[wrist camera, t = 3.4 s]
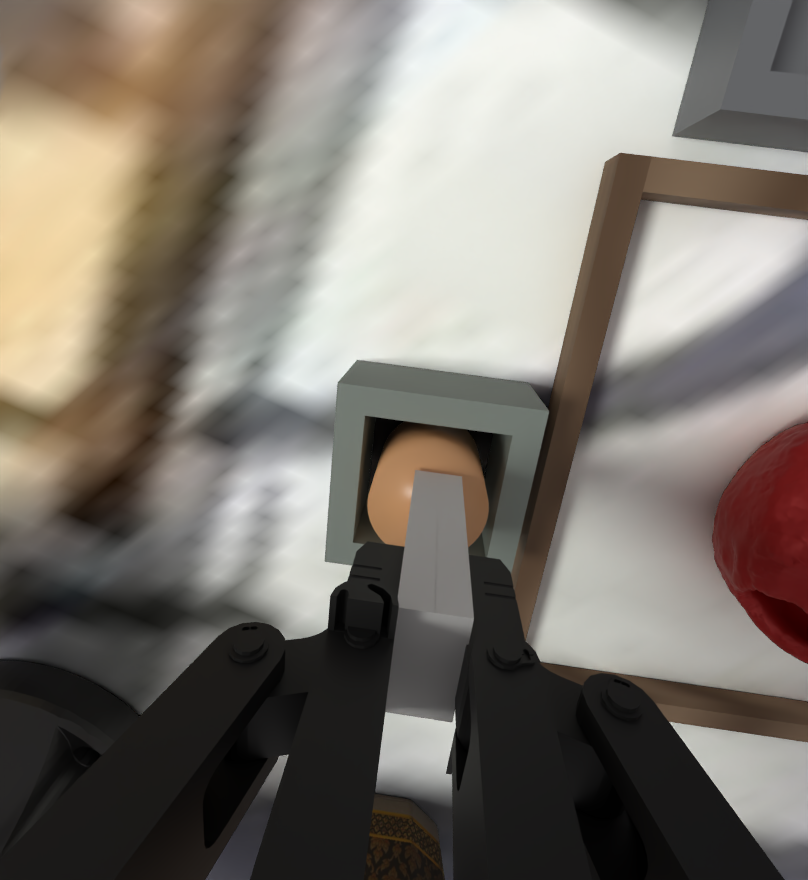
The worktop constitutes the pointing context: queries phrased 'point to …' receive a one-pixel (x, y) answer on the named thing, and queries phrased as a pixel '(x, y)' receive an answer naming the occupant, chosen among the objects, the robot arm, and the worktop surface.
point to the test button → (429, 453)
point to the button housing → (444, 404)
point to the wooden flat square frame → (573, 382)
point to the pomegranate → (769, 539)
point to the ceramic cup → (402, 842)
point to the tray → (749, 75)
